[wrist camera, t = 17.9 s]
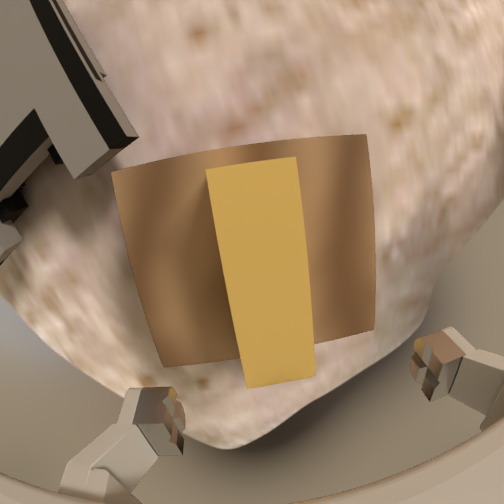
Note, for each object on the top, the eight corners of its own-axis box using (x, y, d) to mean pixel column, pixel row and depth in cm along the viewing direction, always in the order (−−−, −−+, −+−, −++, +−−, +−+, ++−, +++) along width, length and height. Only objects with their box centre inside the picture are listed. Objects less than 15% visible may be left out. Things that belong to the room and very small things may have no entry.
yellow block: (277, 159, 18) (296, 156, 13) (297, 333, 21) (315, 375, 16) (210, 169, 17) (205, 169, 13) (242, 343, 21) (247, 388, 16)
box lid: (359, 135, 19) (366, 134, 18) (369, 323, 23) (374, 329, 22) (116, 171, 18) (111, 172, 17) (165, 359, 22) (163, 367, 21)
